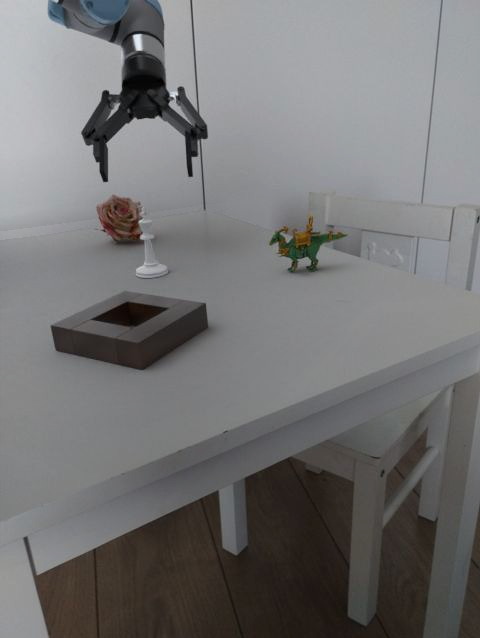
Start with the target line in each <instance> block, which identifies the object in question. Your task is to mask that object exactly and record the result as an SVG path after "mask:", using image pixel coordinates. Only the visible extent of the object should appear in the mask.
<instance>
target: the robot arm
mask: <svg viewBox="0 0 480 638" xmlns="http://www.w3.org/2000/svg"><path fill="white" fill-rule="evenodd" d="M47 15H48V18H49V20H50V21H52V22H54V23H55V24H58V25H60V26H64V27H65V28H66V29H67V30H74V31H76V32H79V33H83V34H86V35H88V36H92V37H94V38H97V39H100V40H103V41H106V42H108V43H110V44H114V45H117V46H120V63H121V64H120V68H121V71H120V72H121V74H120V75H121V90H120V92H119V94H117V93H116V94H115V93H113V94H112V93H110V91H109V90H107V89H104V90H102V92H101V99H100V101H99V103H98V104H97V106H96V107H95V109H94V111H93V112H92V114H91V116H90V117H89V119H88V121H87V122H86V124H85V125H84V127H83V128H82V130H81V132H80V134H81V137H82V140H83V142H84V144H85V146H87V147H90V146H92V156H93V158H94V161H95V163H98V165H99V166H98V168H99V169H98V170H99V171H98V172H99V174H100V177H101V179H102V182H103V183H109V148H108V144H107V143H108V142H109V141H110V140H112V139H113V137H115V135H117V133H119V132H120V131H121V130H122V129H123V128H124V127H125V126H126V125H129V124H130V123H131V122H133V120H134V119H136V120H144V119H150V120H155V119H156V118H157V117H159V119H161V120H162V121H163V122H165V123H168V124H169V125H170V126H171V127H172V128H174V129H175V130H176V131H177V132H178V133H179V134H181V135H182V136H184V141H185V142H184V143H185V145H184V146H185V158H186V161H185V162H186V170H187V177H188V178H193V177H194V171H193V158H198V157H199V141H200V140H207V139H208V138H209V131H208V124H207V123H206V121H205V120H204V119H203V117H202V116H201V114H200V113H199V112H198V110H197V109H196V108H195V106H194V105H193V104H192V102H191V101H190V99H189V98H188V97H187V93H186V89H185V87H184V86H182V85H180V86H178V87H177V90H175V91H174V90H173V91H169V90H168V86H167V85H168V83H167V73H166V71H167V65H166V50H165V20H164V15H163V9H162V6H161V4H160V2H159V0H48V1H47ZM171 102H173V103H174V104H175V105H176V106H177V107H179V108H180V110H181V112H182V114H184V116H185V118H186V119H185V118H184V117H183V116H182V115H181V114H180V113H178V112H177V111H176V110H175V109H174V108H173V107H171V106H170V103H171ZM117 104H119V105H118V108H117V109H116V106H117ZM115 109H116V111H114V110H115ZM112 111H114V113H112ZM111 113H112V115H111ZM110 115H111V116H110Z"/></svg>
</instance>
